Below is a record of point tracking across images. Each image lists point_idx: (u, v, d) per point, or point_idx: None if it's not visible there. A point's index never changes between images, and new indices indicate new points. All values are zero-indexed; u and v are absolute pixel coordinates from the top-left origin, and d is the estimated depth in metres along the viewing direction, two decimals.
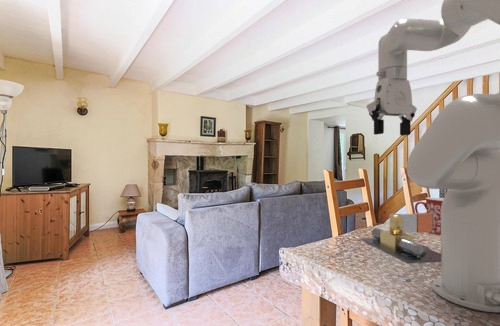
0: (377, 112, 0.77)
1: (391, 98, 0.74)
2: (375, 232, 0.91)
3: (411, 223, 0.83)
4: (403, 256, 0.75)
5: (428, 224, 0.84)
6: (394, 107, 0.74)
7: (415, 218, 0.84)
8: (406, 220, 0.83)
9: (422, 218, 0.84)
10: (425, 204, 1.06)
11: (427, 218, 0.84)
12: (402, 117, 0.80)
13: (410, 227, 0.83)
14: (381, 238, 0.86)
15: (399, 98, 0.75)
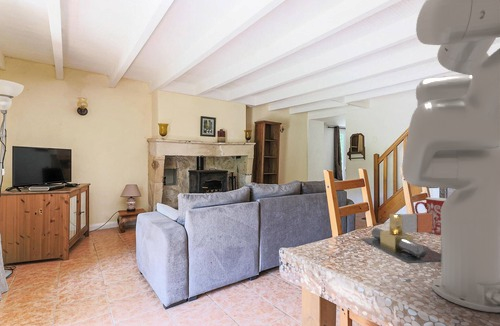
0: None
1: None
2: (375, 232, 0.91)
3: (411, 223, 0.83)
4: (403, 256, 0.75)
5: (428, 224, 0.84)
6: None
7: (415, 218, 0.84)
8: (406, 220, 0.83)
9: (422, 218, 0.84)
10: (425, 204, 1.06)
11: (427, 218, 0.84)
12: None
13: (410, 227, 0.83)
14: (381, 238, 0.86)
15: None
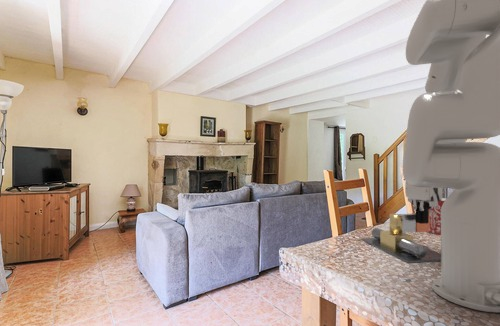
0: (424, 203, 0.80)
1: None
2: (375, 232, 0.91)
3: (410, 223, 0.84)
4: (403, 256, 0.75)
5: (426, 223, 0.85)
6: None
7: (414, 218, 0.84)
8: (406, 220, 0.83)
9: None
10: None
11: None
12: None
13: (409, 227, 0.84)
14: (381, 238, 0.86)
15: None
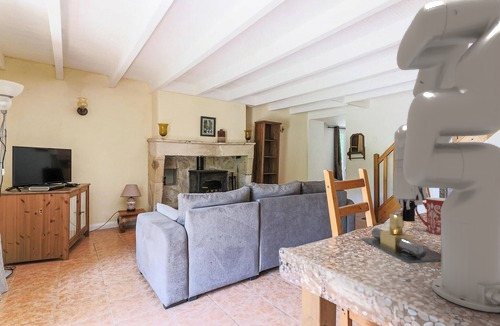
0: (410, 202, 0.84)
1: None
2: (375, 232, 0.91)
3: None
4: (403, 256, 0.75)
5: None
6: None
7: None
8: None
9: (402, 214, 0.90)
10: (425, 204, 1.06)
11: None
12: None
13: None
14: (381, 238, 0.86)
15: None
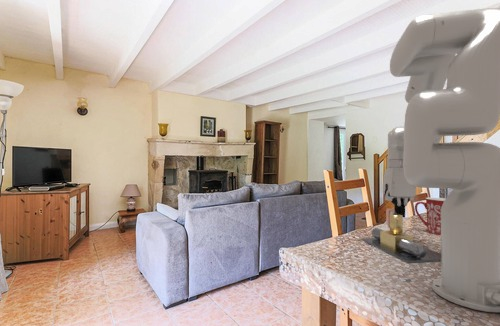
0: None
1: None
2: (375, 232, 0.91)
3: None
4: (403, 256, 0.75)
5: None
6: None
7: None
8: None
9: None
10: (425, 204, 1.06)
11: None
12: None
13: None
14: (381, 238, 0.86)
15: None
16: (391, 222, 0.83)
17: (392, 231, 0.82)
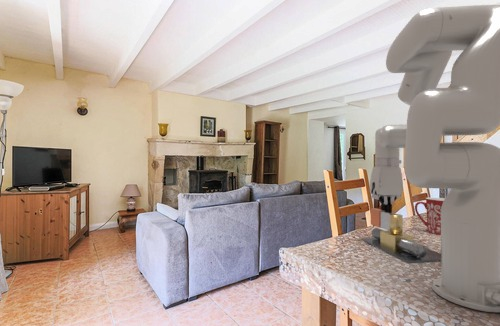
0: None
1: None
2: (375, 232, 0.91)
3: None
4: (403, 256, 0.75)
5: None
6: None
7: None
8: None
9: None
10: (425, 204, 1.06)
11: None
12: None
13: None
14: (381, 238, 0.86)
15: None
16: (394, 223, 0.82)
17: (395, 232, 0.82)
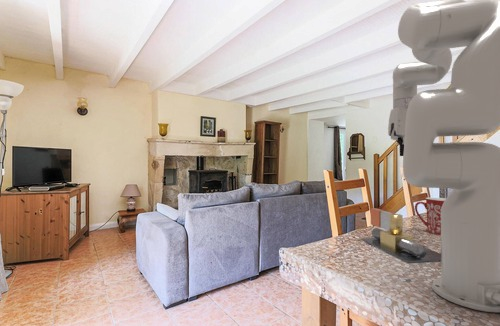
0: None
1: None
2: (375, 232, 0.91)
3: None
4: (403, 256, 0.75)
5: None
6: None
7: None
8: None
9: None
10: (425, 204, 1.06)
11: None
12: None
13: None
14: (381, 238, 0.86)
15: None
16: (394, 223, 0.82)
17: (395, 232, 0.82)
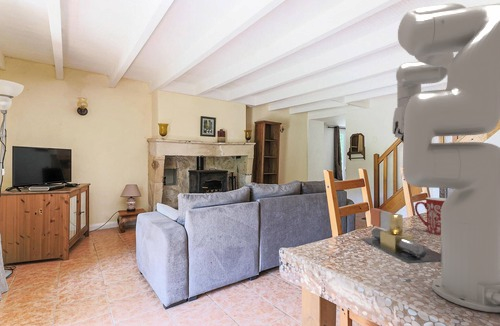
0: None
1: None
2: (375, 232, 0.91)
3: None
4: (403, 256, 0.75)
5: None
6: None
7: None
8: None
9: None
10: (425, 204, 1.06)
11: None
12: None
13: None
14: (381, 238, 0.86)
15: None
16: (394, 223, 0.82)
17: (395, 232, 0.82)
